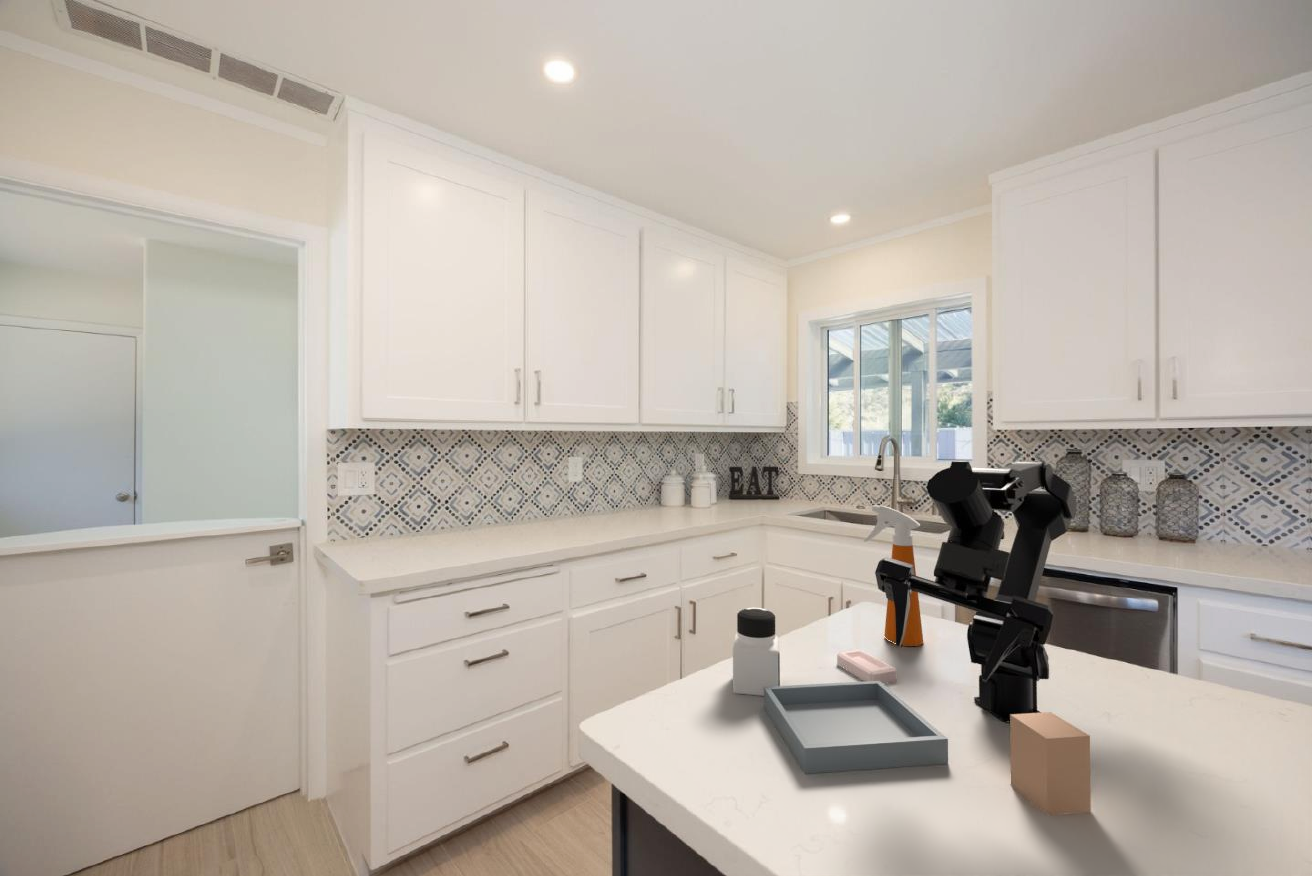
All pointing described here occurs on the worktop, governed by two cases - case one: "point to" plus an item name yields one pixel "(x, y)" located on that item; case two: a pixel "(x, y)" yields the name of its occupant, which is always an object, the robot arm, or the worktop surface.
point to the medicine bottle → (755, 652)
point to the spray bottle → (902, 553)
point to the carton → (1050, 763)
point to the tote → (852, 727)
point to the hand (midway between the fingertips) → (939, 662)
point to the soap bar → (866, 666)
